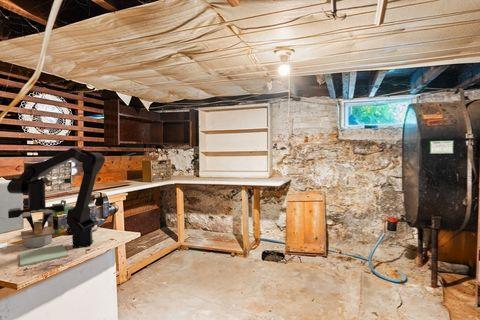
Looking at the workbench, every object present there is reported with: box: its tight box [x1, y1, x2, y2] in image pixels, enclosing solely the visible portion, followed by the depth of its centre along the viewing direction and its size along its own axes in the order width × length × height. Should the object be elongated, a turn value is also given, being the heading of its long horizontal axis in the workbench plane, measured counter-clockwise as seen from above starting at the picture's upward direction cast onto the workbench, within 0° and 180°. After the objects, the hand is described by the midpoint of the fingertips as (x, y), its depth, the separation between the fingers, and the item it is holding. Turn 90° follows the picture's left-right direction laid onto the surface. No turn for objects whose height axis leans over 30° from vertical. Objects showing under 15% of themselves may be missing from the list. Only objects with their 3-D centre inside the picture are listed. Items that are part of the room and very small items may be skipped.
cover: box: [20, 220, 56, 241], centre depth 114 cm, size 11×11×5 cm
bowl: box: [23, 235, 53, 249], centre depth 115 cm, size 9×9×4 cm
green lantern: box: [47, 199, 74, 235], centre depth 133 cm, size 9×9×15 cm
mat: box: [19, 243, 69, 268], centre depth 103 cm, size 14×14×1 cm
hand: (38, 230), depth 114 cm, fingers closed on cover, 3 cm apart
